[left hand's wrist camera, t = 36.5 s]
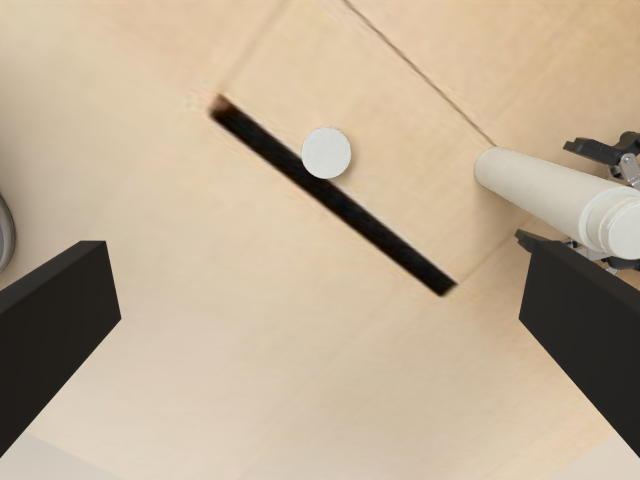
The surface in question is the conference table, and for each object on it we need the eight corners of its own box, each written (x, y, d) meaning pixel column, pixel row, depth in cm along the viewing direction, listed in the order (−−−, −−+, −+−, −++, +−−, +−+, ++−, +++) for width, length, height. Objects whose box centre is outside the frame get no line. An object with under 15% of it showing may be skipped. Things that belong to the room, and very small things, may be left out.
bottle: (521, 151, 40) (694, 204, 21) (505, 191, 41) (654, 273, 23) (482, 142, 39) (623, 187, 21) (467, 182, 41) (587, 258, 22)
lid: (294, 162, 40) (293, 166, 38) (314, 117, 39) (314, 119, 37) (337, 181, 41) (337, 186, 39) (357, 138, 39) (359, 141, 37)
